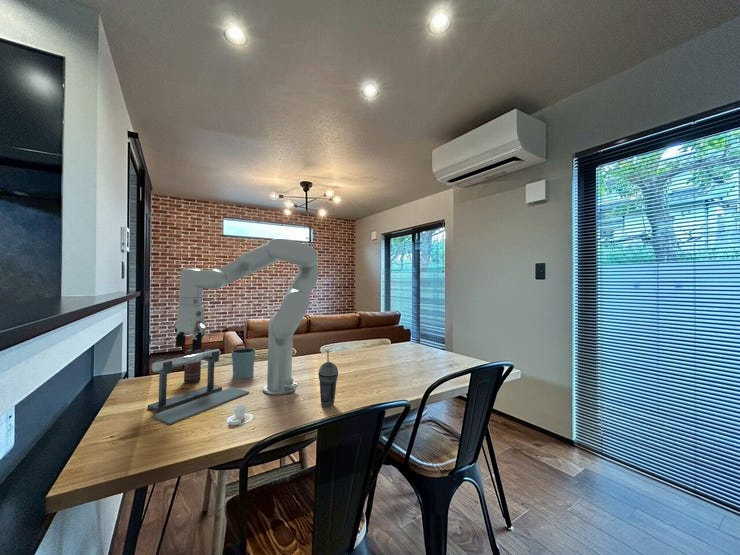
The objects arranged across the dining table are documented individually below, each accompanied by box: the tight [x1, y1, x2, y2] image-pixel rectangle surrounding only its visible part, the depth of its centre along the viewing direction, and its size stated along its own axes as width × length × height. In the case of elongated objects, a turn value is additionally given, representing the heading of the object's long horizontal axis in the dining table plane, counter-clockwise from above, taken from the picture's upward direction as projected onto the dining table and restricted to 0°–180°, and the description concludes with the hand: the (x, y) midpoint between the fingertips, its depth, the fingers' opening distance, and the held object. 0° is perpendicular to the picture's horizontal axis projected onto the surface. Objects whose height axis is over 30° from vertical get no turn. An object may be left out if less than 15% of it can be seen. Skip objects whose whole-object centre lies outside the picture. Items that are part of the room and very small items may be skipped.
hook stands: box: [147, 348, 223, 413], centre depth 112 cm, size 6×24×16 cm, turn 153°
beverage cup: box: [317, 349, 339, 409], centre depth 109 cm, size 7×7×20 cm
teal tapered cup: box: [231, 347, 256, 380], centre depth 139 cm, size 10×10×12 cm
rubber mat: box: [150, 386, 250, 426], centre depth 107 cm, size 10×30×1 cm, turn 153°
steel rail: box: [151, 348, 222, 373], centre depth 112 cm, size 24×3×3 cm, turn 153°
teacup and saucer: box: [226, 405, 254, 426], centre depth 97 cm, size 9×8×4 cm
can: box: [183, 347, 202, 385], centre depth 130 cm, size 6×6×14 cm
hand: (188, 348), depth 112 cm, fingers open, 9 cm apart
